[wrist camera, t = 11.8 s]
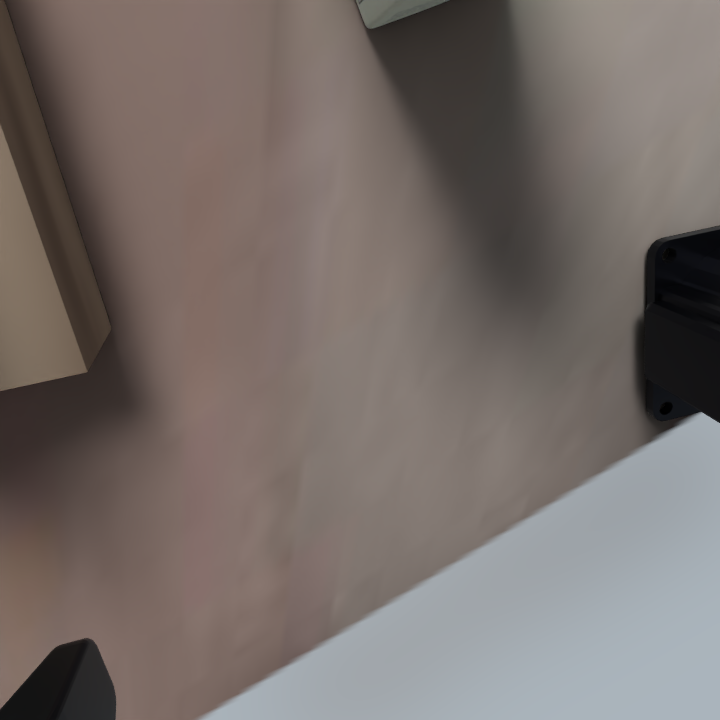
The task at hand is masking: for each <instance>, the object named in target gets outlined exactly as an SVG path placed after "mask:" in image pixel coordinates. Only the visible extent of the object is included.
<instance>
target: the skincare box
mask: <svg viewBox="0 0 720 720" xmlns="http://www.w3.org/2000/svg"><path fill="white" fill-rule="evenodd" d="M446 1H449V0H356V2H357V4H358V7H359V10H360V13H361V16H362V18H363V21H364V23H365V25H366V27H367V28H369V29H373V28H376V27H379V26H382V25H385V24H387V23H390V22H393V21H396V20H399V19H401V18H404V17H407V16H410V15H412V14H415V13H418V12H420V11H423V10H426V9H428V8H431V7H433V6H436V5H439V4H441V3H444V2H446Z"/></svg>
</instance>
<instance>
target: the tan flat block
mask: <svg viewBox="0 0 720 720" xmlns="http://www.w3.org/2000/svg"><path fill="white" fill-rule="evenodd" d="M111 329H112V328H111V325H110V322H109V319H108V316H107V313H106V310H105V306H104V303H103V300H102V297H101V294H100V291H99V288H98V285H97V282H96V279H95V276H94V273H93V270H92V267H91V264H90V261H89V257H88V254H87V251H86V248H85V245H84V242H83V239H82V236H81V233H80V230H79V227H78V224H77V221H76V218H75V215H74V212H73V209H72V205H71V202H70V199H69V196H68V193H67V190H66V187H65V184H64V181H63V178H62V175H61V172H60V169H59V166H58V163H57V160H56V156H55V153H54V150H53V147H52V144H51V141H50V138H49V135H48V132H47V129H46V126H45V123H44V120H43V117H42V114H41V111H40V107H39V104H38V101H37V98H36V95H35V92H34V89H33V86H32V83H31V80H30V77H29V74H28V71H27V68H26V65H25V62H24V59H23V55H22V52H21V49H20V46H19V43H18V40H17V37H16V34H15V31H14V28H13V25H12V22H11V19H10V16H9V13H8V10H7V6H6V3H5V0H0V391H3V390H8V389H12V388H17V387H22V386H26V385H31V384H35V383H40V382H45V381H49V380H54V379H58V378H63V377H68V376H72V375H77V374H81V373H86V372H88V370H89V369H90V367H91V365H92V363H93V361H94V360H95V358H96V356H97V354H98V352H99V351H100V349H101V347H102V345H103V343H104V341H105V340H106V338H107V336H108V334H109V332H110V331H111Z"/></svg>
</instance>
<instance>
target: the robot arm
mask: <svg viewBox="0 0 720 720" xmlns="http://www.w3.org/2000/svg"><path fill="white" fill-rule="evenodd" d="M666 249H668V251H669V253H668V256H667V257H666V258H665V259H664V260H663V259H662V255H663V252H664V251H665V250H666ZM645 377H646V408H647V412H648V413H649V414H650V415H651V416H653V417H654V418H656V419H657V420H660V421H666V420H670V419H674V418H678V417H682V416H686V415H690V414H694V413H698V412H703V413H704V414H706V415H707V416H709V417H711V418H712V419H714V420H716V421H717V422H719V423H720V226H715V227H711V228H706V229H701V230H697V231H692V232H687V233H683V234H678V235H673V236H669V237H664V238H661V239H658V240H656V241H655V242H654V243H653V244H652V245H651V247H650V248H649V250H648V256H647V308H646V310H645ZM664 402H665V406H664V407H663V408H662V409H660V406H661V405H662V404H663V403H664ZM659 409H660V410H659ZM115 719H116V695H115V690H114V686H113V683H112V680H111V678H110V676H109V673H108V671H107V669H106V666H105V664H104V661H103V659H102V657H101V654H100V652H99V649H98V647H97V645H96V644H95V642H94V641H93V640H91V639H88V638H84V639H81V640H77V641H73V642H69V643H66V644H62V645H59V646H57V647H56V648H54V649H53V650H52V651H51V652H50V653H49V655H48V656H47V657H46V658H45V659H44V660H43V661H42V663H41V664H40V665H39V666H38V667H37V668H36V669H35V671H34V672H33V673H32V674H31V675H30V676H29V677H28V679H27V680H26V681H25V682H24V683H23V684H22V685H21V686H20V688H19V689H18V690H17V691H16V692H15V693H14V694H13V696H12V697H11V698H10V699H9V700H8V701H7V702H6V704H5V705H4V706H3V707H2V708H1V709H0V720H115Z"/></svg>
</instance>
